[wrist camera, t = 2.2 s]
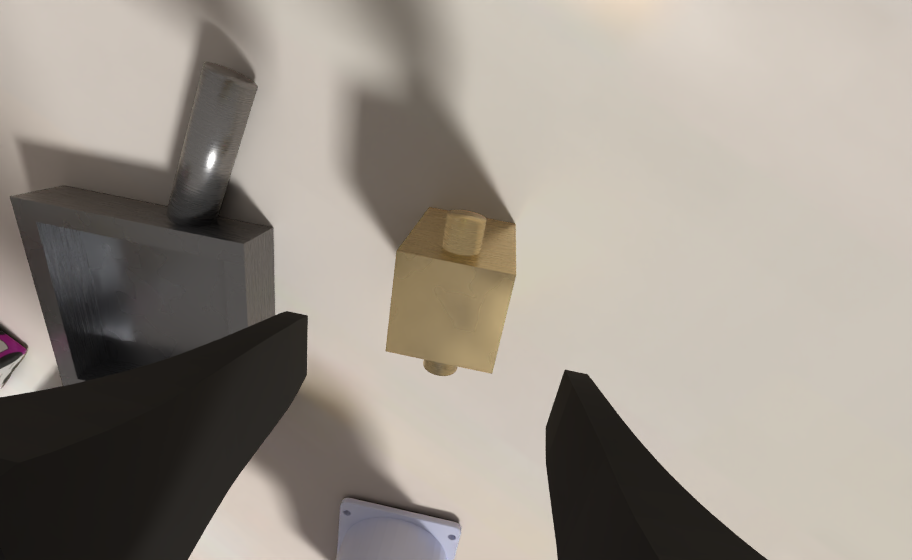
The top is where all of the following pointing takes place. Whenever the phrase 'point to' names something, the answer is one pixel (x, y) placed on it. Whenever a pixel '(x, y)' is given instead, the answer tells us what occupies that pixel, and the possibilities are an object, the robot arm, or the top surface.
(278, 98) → the top surface
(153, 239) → the grey square tray
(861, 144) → the top surface
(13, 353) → the candy bar box
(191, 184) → the steel shaft
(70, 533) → the robot arm
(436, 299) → the brass block with pegs
